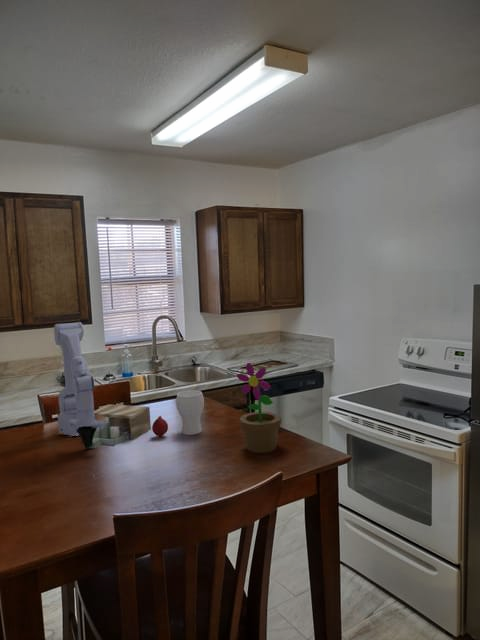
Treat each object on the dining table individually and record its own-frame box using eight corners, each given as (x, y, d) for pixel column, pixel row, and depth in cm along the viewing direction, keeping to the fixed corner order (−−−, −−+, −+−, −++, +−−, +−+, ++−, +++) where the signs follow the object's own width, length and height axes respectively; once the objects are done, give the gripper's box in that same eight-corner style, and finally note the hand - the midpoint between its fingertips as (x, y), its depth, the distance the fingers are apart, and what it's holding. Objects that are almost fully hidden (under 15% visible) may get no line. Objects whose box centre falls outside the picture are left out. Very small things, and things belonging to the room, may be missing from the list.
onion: (160, 440, 167) (158, 419, 166) (149, 437, 170) (148, 417, 169) (171, 435, 171) (170, 415, 171) (161, 433, 175) (159, 412, 174)
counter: (91, 435, 176) (89, 413, 175) (110, 425, 187) (109, 404, 186) (133, 439, 169) (132, 416, 168) (150, 429, 180) (149, 406, 179)
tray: (75, 446, 165) (73, 428, 164) (98, 434, 177) (97, 417, 177) (107, 449, 160) (106, 431, 159) (129, 436, 173) (128, 419, 172)
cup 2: (204, 435, 170) (201, 396, 168) (175, 436, 170) (173, 397, 169) (206, 426, 180) (204, 389, 179) (180, 427, 180) (177, 390, 179)
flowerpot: (233, 451, 153) (228, 363, 150) (252, 437, 166) (248, 356, 163) (272, 457, 146) (268, 365, 143) (288, 442, 159) (285, 357, 156)
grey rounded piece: (91, 438, 170) (90, 427, 170) (93, 435, 174) (92, 424, 173) (100, 438, 170) (99, 426, 170) (102, 435, 174) (101, 423, 173)
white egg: (108, 439, 169) (107, 427, 168) (115, 436, 172) (114, 425, 171) (115, 440, 167) (114, 428, 167) (122, 437, 170) (121, 426, 170)
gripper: (60, 411, 159) (64, 449, 160) (95, 413, 154) (98, 452, 155) (74, 405, 165) (77, 442, 166) (108, 407, 160) (110, 445, 161)
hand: (88, 446), depth 161 cm, fingers closed, pressing on tray
